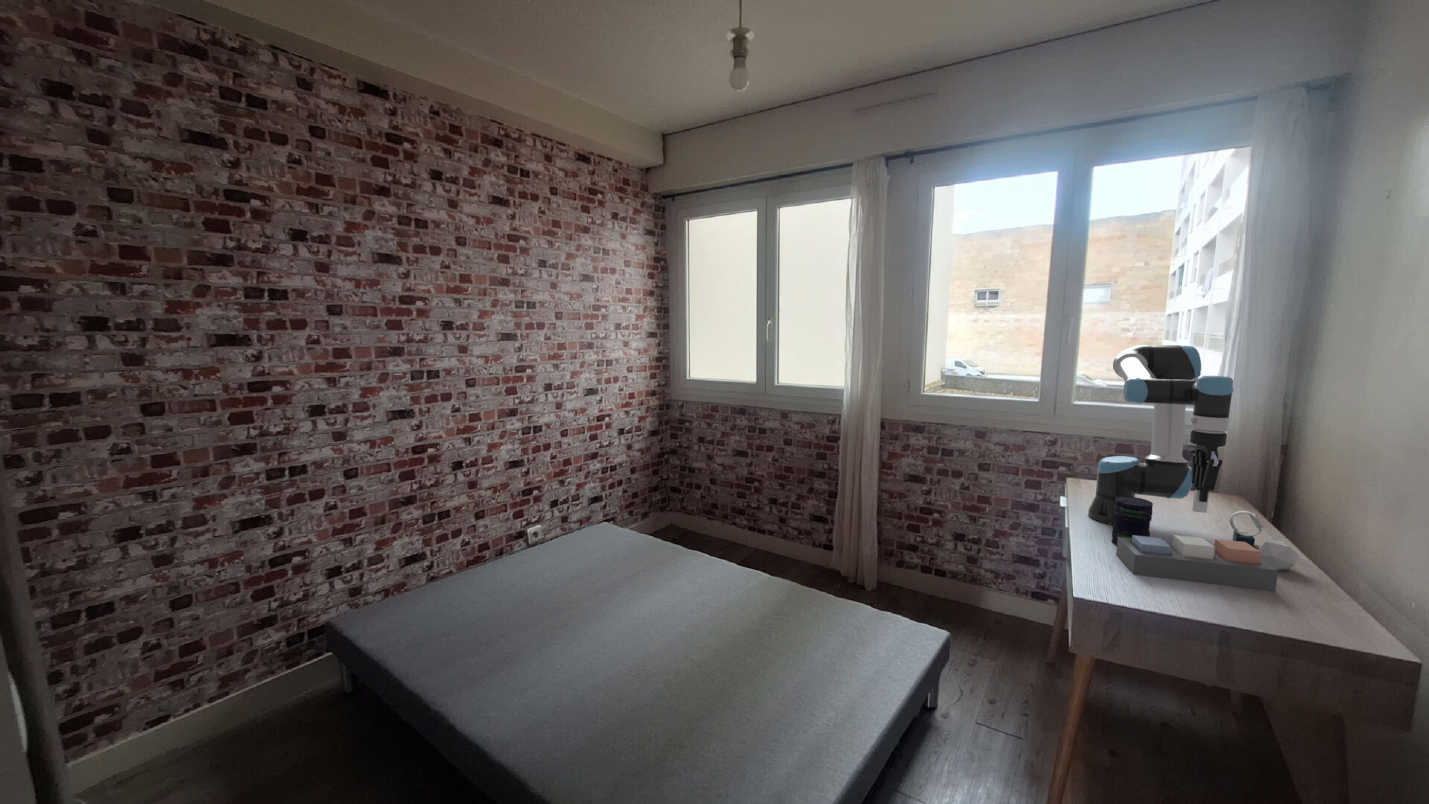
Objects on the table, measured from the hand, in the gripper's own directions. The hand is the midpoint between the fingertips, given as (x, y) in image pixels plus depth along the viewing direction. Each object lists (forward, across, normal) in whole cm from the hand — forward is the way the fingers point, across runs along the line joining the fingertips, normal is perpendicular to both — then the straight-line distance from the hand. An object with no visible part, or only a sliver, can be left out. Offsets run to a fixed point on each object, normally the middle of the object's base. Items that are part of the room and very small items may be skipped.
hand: (1199, 511), depth 155 cm
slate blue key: (+15, 0, -11) cm, 19 cm away
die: (+19, -13, +24) cm, 33 cm away
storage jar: (+19, -18, -10) cm, 28 cm away
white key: (+14, 0, 0) cm, 14 cm away
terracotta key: (+14, -1, +9) cm, 17 cm away
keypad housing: (+19, 0, 0) cm, 19 cm away
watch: (+19, -31, +24) cm, 44 cm away
